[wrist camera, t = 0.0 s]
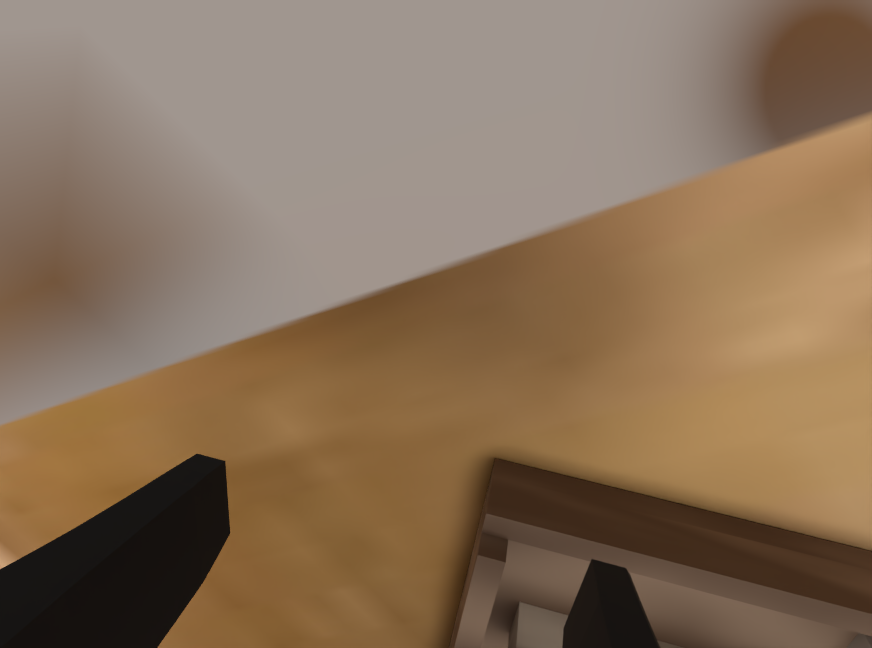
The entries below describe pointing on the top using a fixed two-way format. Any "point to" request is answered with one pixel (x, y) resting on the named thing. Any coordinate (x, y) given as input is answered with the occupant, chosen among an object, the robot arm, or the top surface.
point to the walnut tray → (657, 567)
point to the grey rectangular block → (542, 628)
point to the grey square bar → (861, 641)
